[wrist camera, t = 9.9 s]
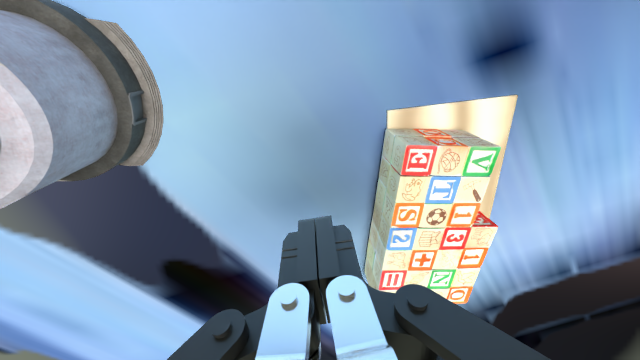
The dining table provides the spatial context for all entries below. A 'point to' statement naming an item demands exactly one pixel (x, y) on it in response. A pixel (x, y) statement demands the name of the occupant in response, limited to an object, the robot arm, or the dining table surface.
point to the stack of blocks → (431, 212)
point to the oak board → (465, 127)
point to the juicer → (70, 98)
